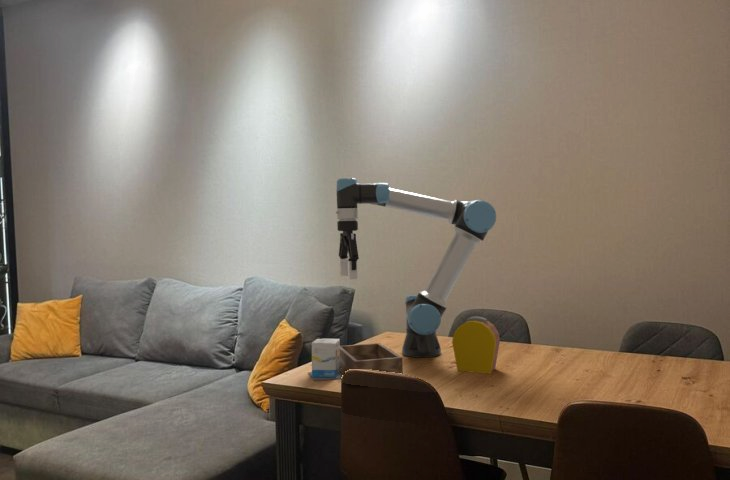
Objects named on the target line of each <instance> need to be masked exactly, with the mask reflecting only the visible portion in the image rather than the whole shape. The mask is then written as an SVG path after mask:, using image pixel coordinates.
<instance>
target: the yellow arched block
mask: <svg viewBox="0 0 730 480" xmlns="http://www.w3.org/2000/svg"><path fill="white" fill-rule="evenodd" d="M452 336H453V337H452V341H451V342H452V347H453V353H454V359H455V365H456V369H457V370H460V371H459V372H465V371H473V372H472V373H477V372H485V373H484V374H488V373H490V374H491V373H492V372H493V371H495V369H496V366H497V359H498V354H499V350H500V349H499V348H500V342H501V339H500V334H499V331H498V330H497V328H496V327H495V325H494V324H493V323H492V322H490V321H489V320H488V318H486V317H482V316H478V315H477V316H471V317H468V318H466V321H465V322H464V323H463V324H462V323H461V324H460V325H459V326H458V327H457V328H456V329H455V331H454V333H453V335H452Z"/></svg>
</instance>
